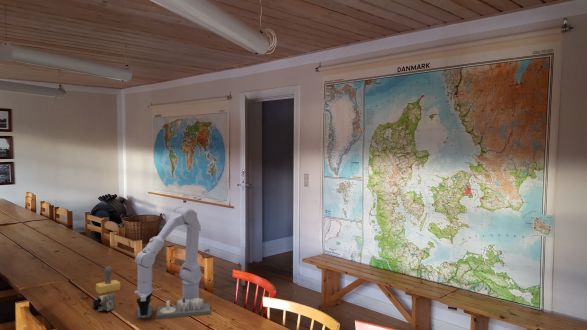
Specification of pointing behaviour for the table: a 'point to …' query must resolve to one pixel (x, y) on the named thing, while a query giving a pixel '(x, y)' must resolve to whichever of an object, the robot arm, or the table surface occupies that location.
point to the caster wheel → (105, 302)
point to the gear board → (184, 308)
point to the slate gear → (147, 312)
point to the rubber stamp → (107, 283)
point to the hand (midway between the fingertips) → (144, 312)
